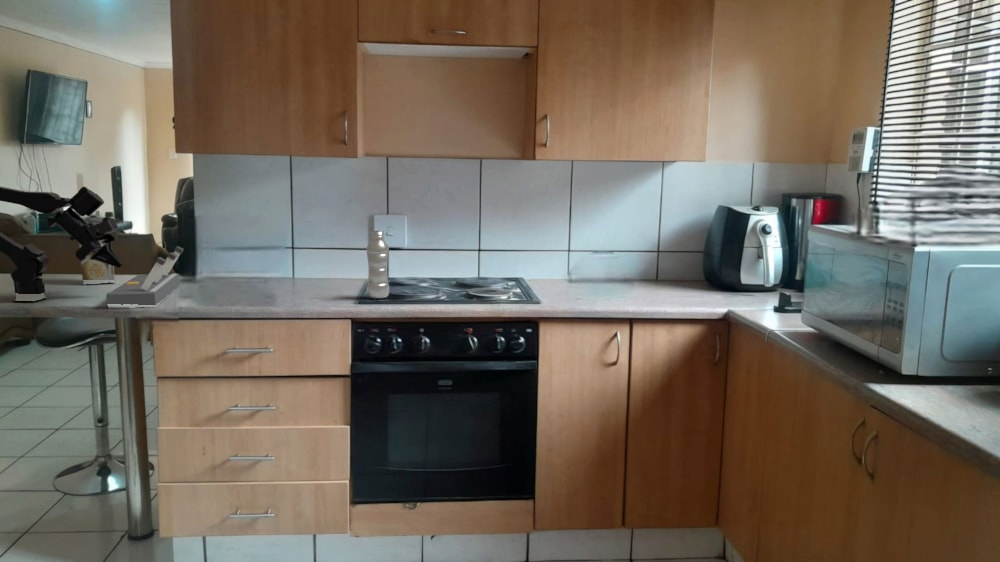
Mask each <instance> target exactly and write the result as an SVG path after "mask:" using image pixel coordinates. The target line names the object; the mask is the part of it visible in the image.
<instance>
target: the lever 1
mask: <svg viewBox="0 0 1000 562" xmlns="http://www.w3.org/2000/svg"><path fill="white" fill-rule="evenodd" d="M166 261H167V260H166V259H165V258H163V257H161V256H159V257H157V259H156V260H155V263H154V265H153V267H152V268H151V270H150V272H149V273H148V274H147V275H148V277H147V278H146V280H145V282H144V283H143V285H142V287H141V288H142V289H144V290H146V291H147V290H148V289H149V287H150V286H151V284H152V282H153V281H154V279H155V277H156V276H157V274H158V272H159V271H160V269H161V267H162V266H163V265H164V264H165V263H166Z"/></svg>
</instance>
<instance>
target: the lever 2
mask: <svg viewBox="0 0 1000 562" xmlns="http://www.w3.org/2000/svg"><path fill="white" fill-rule="evenodd" d="M184 250H185V249H184V248H183V247H180V246H178V245H177V246H176V247H175V248H174V252H173V253H174V254H176V255H177V257H176V259H175V260H173V262H172V263H171V264H170V266H169V267H168V269H167V270H166V272H165V273H164V274H163V275H164V276H167V275H168V274H170V271H171V270H172V268H173V267H174V265H175V263H176V262H177V260H178V258H179V257H180V255H181V254H182V253H183V252H184Z"/></svg>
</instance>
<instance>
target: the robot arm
mask: <svg viewBox="0 0 1000 562" xmlns="http://www.w3.org/2000/svg"><path fill="white" fill-rule="evenodd" d="M0 202H5V203H10V204H14V205H20V206H22V207H25V208H26V209H29V210H32V211H35V212H37V213H40V214H43V215H48V214H52V213H56V214H55V215H53V216H49V217H46V219H47V227H48V228H52V227H53V228H54V227H55V226H58V227H60V229H62V231H64V232H65V233H66V234H68V236H70V237H69V240H71V241H72V242H73V241H76V242H77V243H78V245H79V244H80V245H81V247H80V248H79V247H78V249H77V250H76V251H75V257H76V259H78V260H79V261H80V262H81V261H83V260H85V259H86V256H88V255H89V254H90V253H91V252H92V254H93V256H92V257H91V258H90V259H94V260H97V261H100V262H104V263H107V264H109V265H112V266H114V268H118V269H120V268H121V267H122V266H123V263H122V262H121V260H120V259H119V257H118V256H117V253H116V252H115V251H114V249H113V246H114V244H113V243H114V242H115V240H117V239H118V238H119V236H118V235H117V234H116V233H115V232H114V230H117V229H118V228H119V225H118V224H117V223H118V221H117V220H116V219H115V218H114V217H110V215H108V216H106V217H103V218H102V220H101V221H102V222H99V223H96V224H94V223H93V222H87V221H86V220H85V219H84V218H83V217H85V216H86V217H91V216H92V215H93V214H94V213H95V212H96V211H98V209H99V208H101V207H102V206H103V205H104V204H105V201H104V199H103V198H102V197H101V196H100V195H98V194H97V193H95V192H94V191H93V190H91V189H89V188H88V187H86V186H82V187H80V189H79V190H78V192H77V193H75V194H74V195H73V196H72V197H62V196H60V195H59V194H58V193H56V192H54V191H53V192H52V191H50V192H49V191H46V192H45V191H29V190H28V191H24V190H20V189H15V188H9V187H5V186H1V185H0ZM66 207H68V208H66ZM62 208H66V209H65V210H61V209H62ZM0 252H1V253H2V254H4V255H6V256H7V257H8V258H9V260H10V261H11V262H12V264H13V265H14V266H15V267H16V269H15V270H13V272H12V273H10V277H11V279H12V280H13V281H12V282H13V286H14V294H15V293H18V294H41V293H44V292H45V293H46V289H45V286H46V285H45V283H43V282H44V281H43V279H44V278H42V277H43V275H44V272H45V271H46V270H47V269H48V268H49V266H50V258H49V257H48V255H46V254H45V253H46V251H44V250H41V249H39V247H37V246H36V245H34V243H30V244H27V245H22V244H20V243H19V242H18V241H16V240H15V239H12V238H10V236H7V235H6V234H4V233H2V232H1V231H0Z"/></svg>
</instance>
